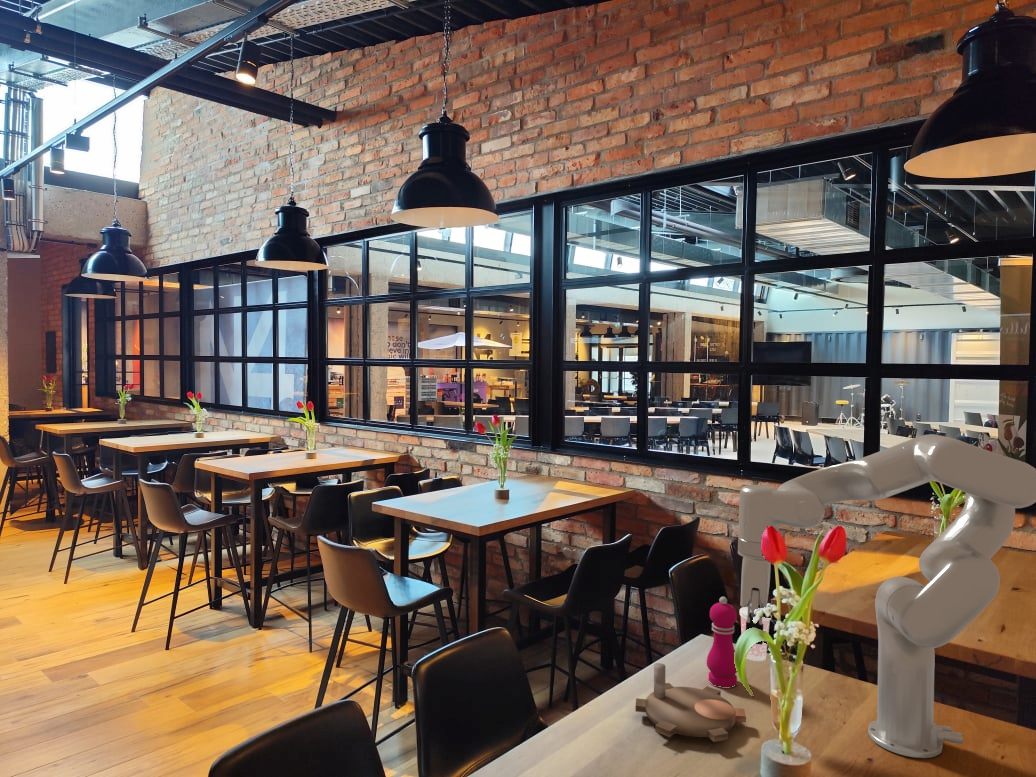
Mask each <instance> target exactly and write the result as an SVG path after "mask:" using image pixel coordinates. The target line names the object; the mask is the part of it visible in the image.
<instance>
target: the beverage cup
mask: <svg viewBox="0 0 1036 777" xmlns="http://www.w3.org/2000/svg"><path fill="white" fill-rule="evenodd" d="M739 615H740V628H741V630H740V631H741V632H740V633H741V635H742V634H743V632H744V631H746V621H747V615H748V606H744V607H742V606H741V608H740V609H739ZM771 620H772V617H771V618H765V617H762V624H763V631H766V632H767V633H768V634H769V632H770V631H769V630H770V621H771ZM741 635H740V636H741ZM767 651H768V643H767V644H766V643H764V642H763V644H762V645H760V644H754V645H753V646H752V648H751V649H750V651H749V652H748V654H747V657H746V658H745V659H746V660H750V661H752V662H753V661H754V662H763V661H765V660H767V659H766V658H767Z"/></svg>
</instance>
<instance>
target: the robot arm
mask: <svg viewBox="0 0 1036 777" xmlns="http://www.w3.org/2000/svg"><path fill="white" fill-rule="evenodd" d="M933 481H934V482H937V483H939V484H943V485H945V486H947V487H950V488H951V489H952V488H953V489H955V490H958V491H960V492H963V493H965V500H964V505H963V508H962V509H961V512H960V513H959V514H958V515H957V517H956V518H954V520H953V521H952V522H951V524H949V525H948V526H947V527H946V528H945V529H944V530H943V531H942V532H941V533H940V534H939V535H938V536H937V537H936V538H935V539H934V540H933V541H932V542H931V543H930V544H929V545H928V546H927V547H926V548H925V549H924V550H923V552H922V553H921V554H920V557H919V559H918V566H919V570H920V572H921V573H922V575H923V576H924V577H925V578H926V579H927V581H929V582H928V583H927V584H926V585H925V586H924V585H923V584H922V583H921V582H918V580H915V579H913V578H910V577H905V576H893V577H890V578H888V579H886V580H884V582H882V583H881V584H880V586H879V587H878V589H877V590H876V594H875V600H874V607H875V616H876V625H877V639H878V641H877V642H878V644H877V645H878V646H877V647H878V648H877V650H878V651H877V655H878V656H877V702H876V703H877V704H876V706H877V707H876V709H877V711H876V714H877V715H876V717H877V718H876V719H875V720H873V721H871V722H870V723H869V724H868V728H867V732H868V736H869V738H870V739H871V740H872V741H873V742H874V743H875V744H877V745H878V746H880V747H881V748H883V749H885V750H887V751H889V752H892V753H895V754H898V755H901V756H904V757H909V758H916V759H928V758H929V759H930V758H935V757H937V756H939V755H940V754H942V751H943V743H944V742H948V743H949V742H950V743H953V744H958V745H963V743H964V739H963V734H962V732H957V731H953V728H952V726H948V725H947V726H946V725H938V723H936V722H935V720H934V719H935V718H934V713H935V712H934V711H935V710H934V708H935V668H936V667H935V666H936V665H935V664H936V663H935V657H936V655H935V654H936V653H935V649H937V648H940V647H943V646H945V645H946V644H948V643H950V642H951V641H952V640H953V639H955V638H956V637H957V636H959V634H960V633H961V632H962V631H963V630H965V629H966V628H967V627H968V626H969V625H970V624H971V623H972V622H973V621H974V620H975V619H976V618H977V617H978V616H979V615H980V614H981V613H982V612H983V611H984V610H985V609H986V608H988V606H989V605H990V604H991V603H992V602H993V600H995V598H996V596H997V594H998V592H999V590H1000V585H1001V578H1000V577H1001V576H1000V573H999V569H998V567H997V566H996V564H995V563H994V562H993V560H991V559H992V558H993V557H994V556H995V555H996V554H997V552H998V551H999V550H1000V549H1001V548H1002V547H1003V546H1004V545H1005V543H1006V542H1007V541H1008V540H1009V538H1010V536H1011V535H1012V532H1013V530H1014V526H1015V520H1016V509H1023V508H1027V507H1030V506H1032V505H1033V504H1035V503H1036V468H1035V467H1034V466H1032V465H1030V464H1029V463H1027V462H1024V461H1021V460H1019V459H1016V458H1012V457H1009V456H1007V455H1003V454H999V453H996V452H993V451H991V450H987V449H986V448H985V449H984V448H982V447H979V446H976V445H973V444H970V443H967V442H965V441H962V440H960V439H957V438H953V437H948V436H943V435H939V434H932V433H929V434H923V435H920V436H916V437H913V438H911V439H909V440H905V441H903V442H900V443H898V444H895V445H893V446H890V447H888V448H885V449H883V450H880V451H877V452H874V453H872V454H870V455H867V456H863V457H861V458H857V459H854V460H850V461H846V462H841V463H838V464H835V465H831V466H826V467H823V468H819V469H817V470H813V471H811V472H810V471H809V472H808V473H805V474H803V475H800V476H797V477H795V478H792V479H790V480H787V481H786V482H783V483H782V484H780V485H779V486H778V487H777V488H775V487H773V486H770V485H763V484H747V485H744V486H743V487H741V489H740V491H739V499H738V500H739V505H738V506H739V507H738V508H739V509H738V530H737V531H738V534H737V535H738V538H737V554H738V555H739V556H740V557H742V561H741V562H742V564H741V577H740V578H741V581H740V582H741V583H740V603H739V604H740V607H741V608H742V607H748V615H747V621H746V630H747V629H749V628H752V627H756V628H758V629H761V630H763V624H762V618H760V620H759V621H758V622H757V623H756V624H753V621H752V620H753V615H754V610H755V609H758V608H764V607H766V608H767V605H768V599H769V593H770V591H769V590H770V581H771V569H772V568H771V567H772V566H771V565H772V562H771V563H770V562H768V561H767V560H765V559H764V557H763V556H762V552H761V538H762V534H763V532H764V530H765V529H766V527H767V526H773V527H774V528H775V529H776V530H777V531H778V532H779V525H781V526H782V525H783V526H786V527H793V528H795V529H796V528H798V529H811V528H814V527H816V526H818V525H820V523H821V522H822V521H823V519H824V517H825V515H826V513H825V512H826V508H825V507H826V506H827V505H831V504H834V503H839V502H846V501H864V502H866V501H867V502H871V501H879V500H884V499H887V498H889V497H892V496H894V495H898V494H901V493H902V492H906V491H909V490H910V489H913V488H916V487H919V486H922V485H924V484H927V483H930V482H933ZM756 644H760V645H762V644H763V642H762V641H761V642H758V643H756Z"/></svg>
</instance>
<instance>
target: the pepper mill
mask: <svg viewBox="0 0 1036 777" xmlns="http://www.w3.org/2000/svg"><path fill="white" fill-rule="evenodd" d="M718 600H719V602H716V603H714V604H713V605H712V606H711V607H710V610H709V618H710V620H711V622H712V623H711V631H713V641H712V645H711V648H710V650H709V651H708V653H707V657H706V666H707V669H708V670H709V671H708V682H709V681H710V682H711V683H712V684H713V685H716V686H721V687H732V686H734V685H736V683H737V684H738V676H737V675H736V674H737V673H738V671H736V668H735V664H734V652H736V650H735V647H734V645H733V634H734V633H735V625H734V623H735V622H736V621H737V620H738V616H737V615H738V614H737V611H736V609H735V607H734V606H733V605H732V604H730V603H728V599H727V597H725V596H721V597H720V598H719V599H718ZM710 682H709V683H710ZM711 683H710V684H711ZM712 684H711V685H712ZM713 685H712V686H713ZM716 686H715V687H716ZM736 686H737V685H736Z"/></svg>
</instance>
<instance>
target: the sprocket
mask: <svg viewBox="0 0 1036 777" xmlns="http://www.w3.org/2000/svg"><path fill="white" fill-rule="evenodd" d="M721 691H722V690H719V689H716V688H713V687H710V686H705V687H703V689H702V688H697V687H692V686H673V684H671V683H670V682H666V665H665V664H664V663H661V662H657V663H654V665H653V692H651V693H650V694H648V696H647V697H646V698H635V712H637V713H638V712H639V713H645V714H646V716H647V718H648V719H649V720H650V722H652V723H653V724H654V725H655V726H654V727H655V728H654V731H655V732H656V733H658V734H660V735H664V736H666V737H668V738H671V737H672V736H674V735H675V734H677V735H681V736H682V735H683V736H686V737H687V736H688V737H695V738H697V737H698V738H700V737H701V738H705V737H707V738H709V739H710V740H711V741H712V742H713V743H715V742H721V741H725V740H729V732H728V731H730V730H732V728H733V727H734V726H735V724H736V722H739V723H747V715H746V711H745V708H738V707H734V706H733V704H731V702H729V701H728V700H727V699H726V698H724V697H723V696H722V695H721V693H722V692H721Z"/></svg>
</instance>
